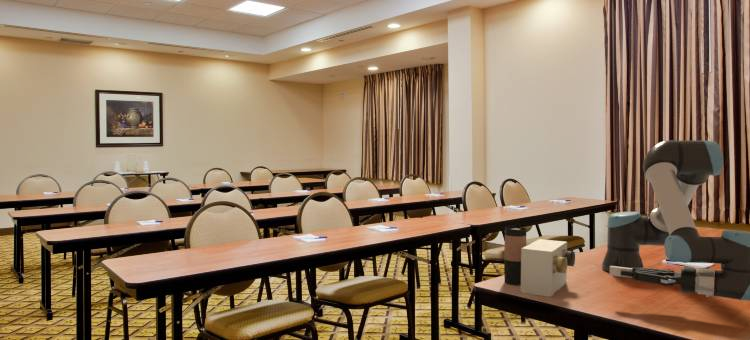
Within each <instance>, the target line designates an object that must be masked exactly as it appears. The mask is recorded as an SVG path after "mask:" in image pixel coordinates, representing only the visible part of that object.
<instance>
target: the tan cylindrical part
mask: <svg viewBox="0 0 750 340" xmlns="http://www.w3.org/2000/svg"><path fill="white" fill-rule="evenodd" d="M562 257H566V258H567V267H575V263H576V252H575V251H572V250H567V251H562Z"/></svg>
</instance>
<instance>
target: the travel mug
mask: <svg viewBox="0 0 750 340" xmlns="http://www.w3.org/2000/svg"><path fill="white" fill-rule="evenodd" d="M525 246H527V227H520V228H517V227H515V226H506V227H505V228H504V252H503V253H504V254H503V255H504V257H503V258H504V259H503V260H504V261H503V264H504V265H503V266H504V268H503V269H504V272H503V273H504V275H503V277H504V283H505V284H506V285H509V286H521V248H523V247H525Z"/></svg>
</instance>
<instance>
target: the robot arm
mask: <svg viewBox="0 0 750 340" xmlns="http://www.w3.org/2000/svg"><path fill="white" fill-rule="evenodd" d="M642 164H643V165H642V170H643V173H644V174H643V175H644V176H645V179H646V180H647V182H649V183H650V184H651V186H652V190H653V193H654V195H655V199H656V200H657V204H658V206H657V207H656V208H654V209H653V210H652V211H651V212H650V214H649V215H641V212H638V211H622V212H620V211H619V212H614V213H612V214H610V215H608V220H607V225H606V227H607V246H606V247H607V249H606V252H605V255H604V257H603V260H602V264H601V269H602V270H603V271H606V272H609V276H614V277H615V276H616V277H623V278H630V279H633V280H634V281H640V282H645V283H650V284H655V285H661V286H664V287H668V286H669V287H670V286H671V287H673V286H674V285H676V286H679V285H680V291H681V292H682V293H686V294H687V293H688V294H695V293H696V292H697V293H696V294H698V295H705V297H706V298H709V297H711V296H712V297H713V296H714V297H720V298H726V299H732V300H739V301H750V232H749V231H746V230H738V229H724V230H723V231H722V233H721V235H720V236H700V233H699V231H698V228H697V226H696V224H695V221H694V219H693V216H692V213H691V212H690V208H689V204H690V203H691V200H692V199H693V197H694V196H695V193H696V191H697V189H698V187H699V186H701V185H704V184H705V183H706V182H707V181H708V179H709V177H710V176H713V177H715V176H718V175H721V173H722V171H723V167H724V156H723V152H722V148H721V147H720V145H719V143H718V142H716V141H715V140H705V139H703V140H697V139H696V140H673V139H672V140H670V139H669V140H664V141H660V142H658V143H656V144H655V145H653V146H652V147H651V148H650V149H649V150H648V151H647V153H646V155H645V157H644V160H643V163H642ZM640 246H656V247H657V246H658V247H664V254H665V256H666V258H667V259H668V260H669V261H671V262H676V263H677V262H678V263H684V264H687V263H689V264H690V263H693V264H697V263H698V264H699V263H700V264H718V265H719V264H720V268H721V269H720V270H716V269H710V268H700V267H699V268H696V267H690V266H682V267H681V269H680V272H676V271H675V270H674V269H670V268H668V269H667V268H665V269H664V268H649V267H645V266H644V263H643V261H642V257H641V254H640Z"/></svg>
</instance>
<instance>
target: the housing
mask: <svg viewBox="0 0 750 340" xmlns="http://www.w3.org/2000/svg"><path fill="white" fill-rule="evenodd" d="M562 251H568V241H565V240H564V241H563V240H551V239H543V238H542V239H541V238H539V239H536V240H535V241H533V242H531V243H529V244H528V245H527V244H526V246H525V247H523V248H521V285H520V294H521V293H523V294H527V295H528V294H530V295H533V296H534V295H535V296H542V297H548V298H551V297H552V296H554V293H555V292H556V291H557V290H558V291H560V290H561V288H562V287H564V285H566V283H567V271H568V270H567V271H566V273H559V272H556V271H553V257H562ZM558 291H557V292H558ZM557 292H556V293H557Z"/></svg>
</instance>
